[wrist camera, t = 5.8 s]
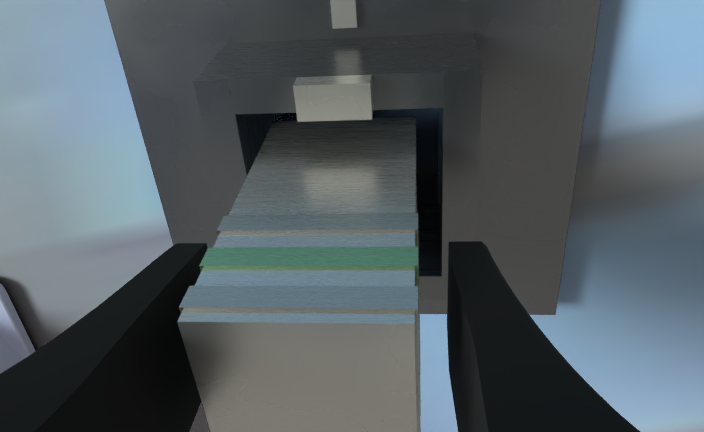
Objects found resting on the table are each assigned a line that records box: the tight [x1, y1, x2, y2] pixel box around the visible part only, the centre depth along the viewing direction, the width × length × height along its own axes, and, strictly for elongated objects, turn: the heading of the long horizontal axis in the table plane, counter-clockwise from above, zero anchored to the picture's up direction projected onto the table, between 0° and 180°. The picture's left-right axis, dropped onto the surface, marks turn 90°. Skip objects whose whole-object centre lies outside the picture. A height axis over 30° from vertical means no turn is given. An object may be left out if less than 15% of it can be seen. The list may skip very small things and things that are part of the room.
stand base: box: [104, 0, 601, 315], centre depth 16 cm, size 12×12×4 cm
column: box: [177, 117, 421, 432], centre depth 12 cm, size 4×4×7 cm
